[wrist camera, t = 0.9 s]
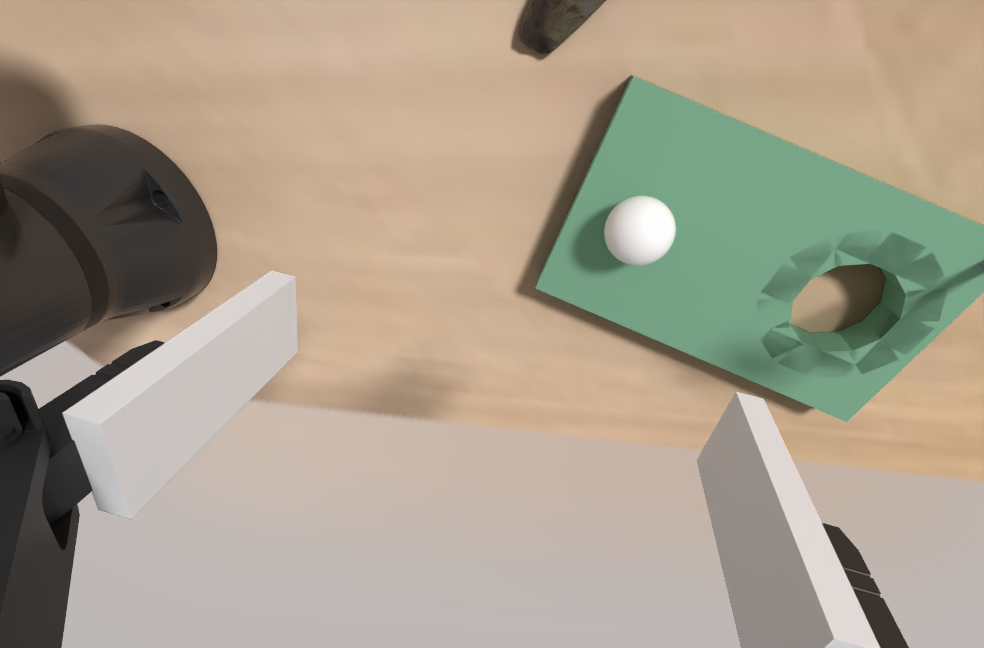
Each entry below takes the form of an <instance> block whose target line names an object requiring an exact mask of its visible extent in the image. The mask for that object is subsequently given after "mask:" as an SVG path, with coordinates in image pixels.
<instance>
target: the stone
mask: <svg viewBox="0 0 984 648" xmlns="http://www.w3.org/2000/svg"><path fill="white" fill-rule="evenodd" d="M604 1H605V0H530V2H529V5H528V7H527V9H526V11H525V14H524V16H523V18H522V21H521V24H520V33H519V35H520V39H521V41H523V42H524V43H525V44H526V45H527V46H529V47H530V48H533V49H535V50H537V51H538V52H539V53H549V52H551V51H552V50H554V49H555V48H556V47H557V46H558V45H560V44H561V43H562V42H563V41H564V40H565V39H566V38H567V37H568V36H569V35H570V34H572V33H573V32H574V31H575V30H576V29H577V28H578V27H579V26H580V25H581V24H582V23H583V22H584V21H585V20H587V19H588V18H589V17H590V16H591V15H592V14H593V13H594V12H595V11H596V10H597V9H598V8H599V7H600V6H601V5H602V4H603V2H604Z"/></svg>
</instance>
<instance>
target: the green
mask: <svg viewBox="0 0 984 648" xmlns="http://www.w3.org/2000/svg"><path fill="white" fill-rule="evenodd" d="M634 196H649V197H653V198H656V199H658V200H660V201H661V202H663V203H664V204H665V205H666V206H667V207H668V208H669V209H670V211H671V213H672V214H673V217H674V219H675V224H676V234H675V238H674V241H673V244H672V245H671V247H670V249H669V250H668V251H667V253H666V254H665V255H664V256H662V257H661V258H660V259H658V260H657V261H655V262H653V263H650V264H647V265H638V266H636V265H630V264H626V263H624V262H622V261H620V260H618V259H617V258H616V257H615V256H613V254H612V253H611V252H610V250H609V249H608V247H607V245H606V242H605V237H604V228H605V223H606V220H607V218H608V216H609V214H610V212H611V211H612V210H613V209H614V208H615V207H616V206H617V205H618V204H619V203H620V202H622V201H624V200H626V199H628V198H631V197H634ZM858 264H872V265H874V266H876V267H879V268H881V270H882V272H883V274H884V276H885V278H886V280H885V285H884V290H883V294H882V299H881V301H880V303H879V304H878V305H877V306H876V307H875V308H874V309H873V310H872V311H871V312H870V313H869V314H868V315H867V317H866V318H865V319H864V320H862V321H860V322H858V323H856V324H853V325H851V326H849V327H847V328H844V329H842V330H840V331H838V332H816V333H810V332H808V331H806V330H803V329H801V328H799V327H796V326H794V325H792V324H790V319H791V310H792V302H793V300H794V299H795V298H796V297H797V295H798V294H799V293H800V292H801V290H802V289H803V288H804V287H805V286H806V284H807V283H808V282H809V281H810V280H811V279H813V278H815V277H817V276H819V275H821V274H823V273H825V272H827V271H829V270H831V269H833V268H835V267H837V266H844V265H858ZM535 289H538V290H540V291H542V292H545V293H547V294H549V295H552V296H554V297H556V298H559V299H561V300H563V301H566V302H568V303H570V304H573V305H575V306H577V307H580V308H582V309H584V310H587V311H589V312H591V313H594V314H596V315H598V316H601V317H603V318H605V319H608V320H610V321H612V322H615V323H617V324H619V325H622V326H624V327H626V328H629V329H631V330H633V331H636V332H638V333H640V334H643V335H645V336H647V337H650V338H652V339H654V340H657V341H659V342H661V343H664V344H666V345H668V346H671V347H673V348H675V349H678V350H680V351H682V352H685V353H687V354H689V355H692V356H694V357H696V358H699V359H701V360H703V361H706V362H708V363H710V364H713V365H715V366H717V367H720V368H722V369H724V370H727V371H729V372H731V373H734V374H736V375H738V376H741V377H743V378H745V379H748V380H750V381H752V382H755V383H757V384H759V385H762V386H764V387H766V388H769V389H771V390H773V391H776V392H778V393H780V394H783V395H785V396H787V397H790V398H792V399H794V400H797V401H799V402H801V403H804V404H806V405H808V406H811V407H813V408H815V409H818V410H820V411H822V412H825V413H827V414H829V415H832V416H834V417H836V418H839V419H841V420H843V421H846V422H847V421H848V420H849V419H850V418H851V417H852V416H853V415H854V414H855V413H857V412H858V411H859V410H860V409H861V408H862V407H863V406H864V405H865V404H866V403H867V402H868V401H869V400H870V399H871V398H872V397H873V396H874V395H876V394H877V393H878V392H879V391H880V390H881V389H882V388H883V387H884V386H885V385H886V384H887V383H888V382H889V381H890V380H891V379H892V378H893V377H895V376H896V375H897V374H898V373H899V372H900V371H901V370H902V369H903V368H904V367H905V366H906V365H907V364H908V363H909V362H910V361H911V360H912V359H914V358H915V357H916V356H917V355H918V354H919V353H920V352H921V351H922V350H923V349H924V348H925V347H926V346H927V345H928V344H929V343H930V342H932V341H933V340H934V339H935V338H936V337H937V336H938V335H939V334H940V333H941V332H942V331H943V330H944V329H945V328H946V327H947V326H948V325H949V324H951V323H952V322H953V321H954V320H955V319H956V318H957V317H958V316H959V315H960V314H961V313H962V312H963V311H964V310H965V309H966V308H967V307H968V306H970V305H971V304H972V303H973V302H974V301H975V300H976V299H977V298H978V297H979V296H980V295H981V294H982V293H983V292H984V225H982V224H979V223H977V222H975V221H972V220H970V219H968V218H965V217H963V216H961V215H958V214H956V213H954V212H951V211H949V210H947V209H944V208H942V207H940V206H937V205H935V204H933V203H930V202H928V201H926V200H923V199H921V198H919V197H916V196H914V195H912V194H909V193H907V192H905V191H902V190H900V189H897V188H895V187H893V186H890V185H888V184H886V183H883V182H881V181H879V180H876V179H874V178H872V177H869V176H867V175H865V174H862V173H860V172H858V171H855V170H853V169H851V168H848V167H846V166H844V165H841V164H839V163H837V162H834V161H832V160H830V159H827V158H825V157H823V156H820V155H818V154H816V153H813V152H811V151H809V150H806V149H804V148H801V147H799V146H797V145H794V144H792V143H790V142H787V141H785V140H783V139H780V138H778V137H776V136H773V135H771V134H769V133H766V132H764V131H762V130H759V129H757V128H755V127H752V126H750V125H748V124H745V123H743V122H741V121H738V120H736V119H734V118H731V117H729V116H727V115H724V114H722V113H720V112H717V111H715V110H713V109H710V108H708V107H705V106H703V105H701V104H698V103H696V102H694V101H691V100H689V99H687V98H684V97H682V96H680V95H677V94H675V93H673V92H670V91H668V90H666V89H663V88H661V87H659V86H656V85H654V84H652V83H649V82H647V81H645V80H642V79H640V78H638V77H635V76H633V75H631V77H630V79H629V82H628V84H627V86H626V88H625V90H624V92H623V95H622V97H621V99H620V101H619V103H618V105H617V108H616V110H615V112H614V114H613V116H612V118H611V121H610V123H609V125H608V127H607V129H606V131H605V134H604V136H603V138H602V140H601V142H600V144H599V147H598V149H597V151H596V153H595V155H594V157H593V160H592V162H591V164H590V166H589V168H588V171H587V173H586V175H585V177H584V179H583V181H582V184H581V186H580V188H579V190H578V192H577V194H576V197H575V199H574V201H573V203H572V205H571V207H570V210H569V212H568V214H567V216H566V218H565V220H564V223H563V225H562V227H561V229H560V231H559V233H558V236H557V238H556V240H555V242H554V244H553V246H552V249H551V251H550V253H549V255H548V257H547V259H546V262H545V264H544V266H543V268H542V270H541V272H540V275H539V278H538V281H537V284H536V287H535Z"/></svg>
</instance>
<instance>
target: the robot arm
mask: <svg viewBox="0 0 984 648" xmlns="http://www.w3.org/2000/svg"><path fill="white" fill-rule="evenodd" d="M216 257H217V247H216V239H215V233H214V229H213V226H212V222H211V220H210V217H209V214H208V212H207V210H206V207H205V205H204V203H203V201H202V200H201V198H200V196H199V194H198V193H197V191H196V189H195V188H194V187H193V185H192V184H191V182H190V181H189V180H188V178H187V177H186V176H185V175H184V173H183V172H182V171H181V170H180V169H179V168H178V167H177V165H176V164H175V163H174V162H173V161H172V160H171V159H169V158H168V157H167V156H166V155H165V154H164V153H163V152H161V151H160V150H159V149H158V148H156V147H155V146H154V145H152V144H151V143H149V142H148V141H146V140H144V139H143V138H141V137H139V136H137V135H135V134H133V133H131V132H129V131H126V130H123V129H120V128H117V127H113V126H108V125H87V126H80V127H73V128H66V129H62V130H58V131H55V132H52V133H50V134H48V135H46V136H45V137H43V138H42V139H41V140H40V141H38V142H37V143H36V144H34V145H32V146H30V147H28V148H26V149H25V150H23V151H21V152H19V153H17V154H16V155H14V156H12V157H10V158H9V159H7V160H5V161H4V162H2V163H0V376H2V375H4V374H5V373H7V372H9V371H11V370H13V369H14V368H17V367H18V366H20V365H22V364H24V363H26V362H27V361H29V360H31V359H33V358H35V357H36V356H38V355H40V354H42V353H44V352H46V351H47V350H49V349H51V348H53V347H55V346H56V345H58V344H60V343H62V342H64V341H66V340H67V339H69V338H71V337H73V336H75V335H76V334H78V333H80V332H82V331H84V330H86V329H87V328H89V327H91V326H93V325H95V324H97V323H99V322H101V321H107V320H112V319H118V318H123V317H128V316H134V315H139V314H143V313H146V312H154V311H161V310H165V309H169V308H172V307H175V306H177V305H179V304H181V303H182V302H184V301H186V300H188V299H189V298H191V297H193V296H194V295H196V294H198V293H199V292H200V291H202V290H203V289H204V288H205V287H206V285H207V284H208V283H209V281H210V279H211V277H212V275H213V273H214V269H215V265H216ZM297 352H298V336H297V305H296V277H294V276H291V275H287V274H283V273H279V272H275V271H270V272H269V273H267V274H266V275H264V276H263V277H261V278H260V279H258V280H257V281H256V282H254V283H253V284H251V285H250V286H248V287H247V288H245V289H244V290H242V291H241V292H239V293H238V294H236V295H235V296H234V297H232V298H231V299H229V300H228V301H226V302H225V303H223V304H222V305H220V306H219V307H217V308H216V309H214V310H213V311H211V312H210V313H209V314H207V315H206V316H204V317H203V318H201V319H200V320H198V321H197V322H195V323H194V324H192V325H191V326H189V327H188V328H187V329H185V330H184V331H182V332H181V333H179V334H178V335H176V336H175V337H173V338H172V339H170V340H169V341H167V342H166V343H164V342H161V341H157V340H155V341H153V342H150V343H147V344H144V345H142V346H139V347H136V348H133V349H131V350H129V351H128V352H126V353H125V354H123V355H122V356H120V357H119V358H117V359H115V360H114V361H112V364H111V365H109V364H108V365H106V366H105V367H103V368H101V369H100V370H99V371H97V372H96V374H95V375H91V376H89V377H88V378H86V379H85V380H83V381H81V382H80V383H78V384H77V385H75V386H74V387H72V388H71V389H69V390H67V391H66V392H64V393H63V394H61V395H60V396H58V397H56V398H55V399H53V400H52V401H50V402H49V403H47V404H46V405H44V406H43V407H41V408H40V409H38V407H37V404H36V402H35V399H34V397H33V395H32V393H31V390H30V388H29V387H27V386H26V385H25V384H23V383H22V382H17V381H12V380H0V648H61V646H62V639H63V632H64V625H65V617H66V610H67V603H68V595H69V588H70V581H71V573H72V567H73V559H74V551H75V545H76V537H77V530H78V523H79V516H80V515H79V510H78V506H77V504H78V503H79V502H80V501H81V500H82V499H83V498H84V497H86V496H87V495H88V494H89V493H90V492H91V491H92V494H93V496H94V499H95V502H96V505H97V507H98V509H99V510H101V511H104V512H108V513H111V514H114V515H118V516H121V517H124V518H127V519H132V518H133V517H134V516H136V515H137V513H138V512H139V511H140V510H141V509H142V508H143V507H144V506H145V505H146V504H147V503H148V502H149V501H150V500H151V499H152V498H153V497H154V496H155V495H156V494H157V493H158V492H159V491H160V490H161V489H162V488H163V487H164V486H165V485H166V484H167V483H168V482H169V481H170V480H171V479H172V478H173V477H174V476H175V475H176V474H177V473H178V472H179V471H180V470H181V469H182V468H183V467H184V466H185V465H186V464H187V463H188V462H189V461H190V460H191V459H192V458H193V457H194V456H195V455H196V454H197V453H198V452H199V451H200V450H201V449H202V448H203V447H204V446H205V445H206V444H207V443H208V442H209V441H210V440H211V439H212V438H213V437H214V436H215V435H216V434H217V433H218V432H219V431H220V430H221V429H222V428H223V427H224V426H225V425H226V424H227V423H228V422H229V421H230V420H231V419H232V418H233V417H234V415H235V414H237V412H239V411H240V409H241V408H242V407H244V405H245V404H246V403H247V402H248V401H249V400H250V399H251V398H252V397H253V396H254V395H255V394H256V393H257V392H258V391H259V390H260V389H261V388H262V387H263V386H264V385H265V384H266V383H267V382H268V381H269V380H270V379H271V378H272V377H273V376H274V375H275V374H276V373H277V372H278V371H279V370H280V369H281V368H282V367H283V366H284V365H285V364H286V363H287V362H288V361H289V360H290V359H291V358H292V357H293V356H294V355H295V354H296V353H297ZM697 463H698V467H699V472H700V476H701V480H702V484H703V488H704V493H705V497H706V501H707V506H708V510H709V514H710V518H711V522H712V527H713V531H714V535H715V539H716V543H717V548H718V552H719V556H720V560H721V565H722V569H723V573H724V577H725V582H726V586H727V589H728V594H729V599H730V603H731V607H732V611H733V615H734V620H735V623H736V628H737V632H738V637H739V641H740V645H741V648H909V647H908V646H907V643H906V641H905V640H904V638H903V636H902V634H901V632H900V630H899V628H898V626H897V624H896V622H895V620H894V618H893V616H892V614H891V612H890V611H889V609H888V607H887V605H886V603H885V601H884V599H883V598H881V597H880V594H881V593H880V591H879V589H878V587H877V585H876V583H875V581H874V579H873V578H870V572H869V570H868V568H867V566H866V564H865V562H864V560H863V558H862V556H861V554H860V552H859V550H858V549H857V548H856V547H855V546H854V545H853V544H852V542H851V541H850V540H849V539H848V538H847V537H846V535H845V534H844V533H843V532H842V531H841V530H840V528H838V527H835V526H831V525H828V524H824V523H821V520H820V518H819V516H818V514H817V512H816V510H815V508H814V505H813V503H812V501H811V499H810V497H809V495H808V493H807V490H806V488H805V486H804V484H803V482H802V480H801V478H800V476H799V473H798V471H797V469H796V467H795V465H794V463H793V461H792V458H791V456H790V454H789V452H788V450H787V448H786V446H785V444H784V441H783V439H782V437H781V435H780V433H779V431H778V429H777V426H776V424H775V422H774V420H773V418H772V416H771V414H770V411H769V409H768V407H767V405H766V403H765V401H764V399H762V398H759V397H755V396H751V395H747V394H743V393H739V392H735V394H734V396H733V398H732V399H731V401H730V403H729V405H728V406H727V408H726V410H725V412H724V413H723V415H722V417H721V419H720V420H719V422H718V424H717V426H716V427H715V429H714V431H713V433H712V434H711V436H710V438H709V439H708V441H707V443H706V445H705V446H704V448H703V450H702V452H701V454H700V455H699V457H698V459H697Z"/></svg>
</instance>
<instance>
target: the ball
mask: <svg viewBox="0 0 984 648" xmlns="http://www.w3.org/2000/svg"><path fill="white" fill-rule="evenodd" d="M675 234H676V224H675V219H674V217H673V214H672V213H671V211H670V209H669V208H668V207H667V206H666V205H665V204H664V203H663V202H661V201H660V200H658V199H656V198H653V197H649V196H634V197H631V198H628V199H626V200H624V201H622V202H620V203H619V204H618V205H617V206H616V207H615V208H614V209H613V210H612V211H611V212H610V214H609V216H608V218H607V220H606V223H605V228H604V237H605V242H606V245H607V247H608V249H609V250H610V252H611V253H612V254H613V256H615V257H616V258H617V259H618V260H620V261H622V262H624V263H626V264H630V265H636V266H638V265H647V264H650V263H653V262H655V261H657V260H658V259H660V258H661V257H662V256H664V255H665V254H666V253H667V251H668V250H669V249H670V247H671V245H672V244H673V241H674V238H675Z"/></svg>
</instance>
